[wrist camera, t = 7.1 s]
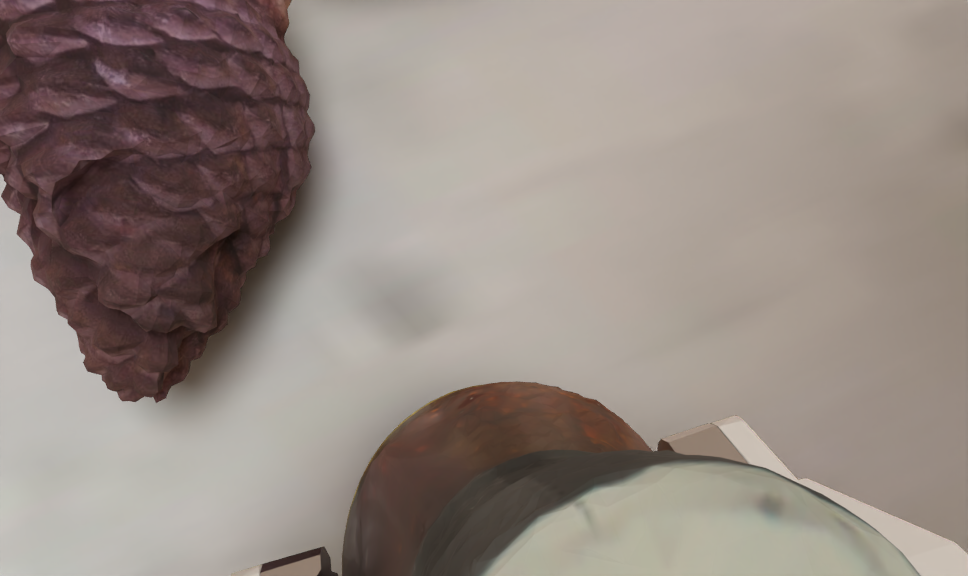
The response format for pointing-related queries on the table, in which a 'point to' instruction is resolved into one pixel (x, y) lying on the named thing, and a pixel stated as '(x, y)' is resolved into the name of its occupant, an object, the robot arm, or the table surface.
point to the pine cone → (148, 166)
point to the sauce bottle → (584, 501)
